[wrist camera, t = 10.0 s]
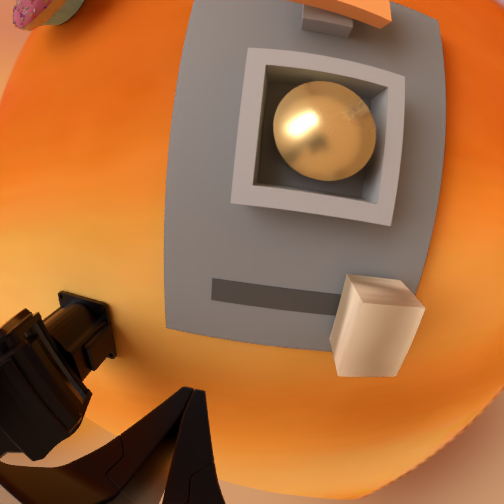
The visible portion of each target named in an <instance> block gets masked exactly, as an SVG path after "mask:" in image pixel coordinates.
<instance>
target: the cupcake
mask: <svg viewBox="0 0 504 504" xmlns="http://www.w3.org/2000/svg"><path fill="white" fill-rule="evenodd" d="M83 2H84V0H17V2H16V5H15V6H14V10H13V24H15V27H16V26H17V27H18V28H19V29H21V30H28V31H31V30H33V29H35V28H37V27H38V26H42V25H60V24H62V23H64V22H66V21H67V20H69V19H70V18H71V17H72V16H73V15H74V14H75V13H76V12H77V11H78V9H79V8H80V7H81V5H82V4H83Z"/></svg>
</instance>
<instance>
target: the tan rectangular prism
mask: <svg viewBox="0 0 504 504" xmlns="http://www.w3.org/2000/svg"><path fill="white" fill-rule="evenodd" d="M425 309H426V308H425V306H424V305H423V304H422V303H421V302H420V301H419V300H418V299H417V298H416V296H415V295H414V294H413V293H412V292H411V291H410V290H409V289H408V288H407V287H406V286H405V285H404V283H403V282H402V281H401V280H395V279H386V278H378V277H369V276H361V275H353V274H346V278H345V282H344V287H343V291H342V295H341V299H340V303H339V306H338V310H337V314H336V318H335V321H334V325H333V328H332V332H331V335H330V338H329V339H330V343H331V348H332V352H333V356H334V360H335V365H336V369H337V374H338V376H344V377H396V375H397V373H398V371H399V369H400V367H401V365H402V363H403V361H404V359H405V357H406V355H407V352H408V350H409V348H410V346H411V343H412V341H413V339H414V337H415V334H416V332H417V329H418V327H419V324H420V322H421V319H422V317H423V314H424V311H425Z"/></svg>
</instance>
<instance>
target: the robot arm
mask: <svg viewBox="0 0 504 504" xmlns="http://www.w3.org/2000/svg"><path fill="white" fill-rule="evenodd" d="M58 297H59V302H60V307H59V308H58V309H57V310H55V311H54V312H53V313H52V314H50V315H49V316H48V317H46V318H45V319H44V320H42V319H41V318H42V317H41V315H40V313H39V312H37V313H35V314H32V312H30V311H29V310H27V309H26V308H25V309H23V310H22V311H21V312H19V313H18V314H16V315H15V316H14V317H12V318H11V319H10V320H8V321H7V322H6V323H5V324H4V325H3V326H2V327H0V458H2V457H3V456H4V455H5V454H7V453H24V454H25V455H26V456H27V457H28V458H29V459H31V460H32V461H36V460H40V459H43V458H45V456H46V455H47V454H48V453H49V452H50V451H51V450H52V449H53V448H54V447H55V446H56V445H57V444H58V443H60V442H61V441H63V440H64V439H66V438H68V437H70V436H71V435H72V434H73V433H75V431H76V430H77V429H78V428H79V426H80V424H81V422H82V420H83V417H84V414H85V412H86V409H87V406H88V404H89V401H90V399H91V396H92V392H91V391H90V390H89V389H87V387H86V386H85V385H84V383H83V382H82V381H83V380H84V379H85V378H86V376H87V375H88V374H89V373H90V372H91V370H92V371H95V370H96V369H97V368H98V367H99V366H100V364H101V363H102V362H103V361H104V360H105V358H106V357H108V358H111V359H114V358H115V357H116V356H117V354H116V349H115V344H114V339H113V334H112V328H111V323H110V317H109V311H108V306H107V305H106V304H105V303H103V302H100V301H96V300H92V299H89V298H85V297H82V296H78V295H75V294H72V293H68V292H65V291H60V292H59V293H58ZM102 307H103V308H102ZM164 490H165V493H164ZM163 493H164V498H163V502H162V504H225V501H224V498H223V496H222V493H221V489H220V486H219V483H218V479H217V474H216V468H215V463H214V456H213V449H212V442H211V435H210V427H209V419H208V411H207V402H206V393H205V391H203V390H198V389H195V390H194V389H193V388H189V387H182V388H180V389H179V390H178V391H177V392H175V393H174V394H173V395H172V396H170V397H169V398H168V399H167V400H165V401H164V402H163V403H162V404H160V405H159V406H158V407H156V408H155V409H154V410H152V411H151V412H150V413H149V414H147V415H146V416H145V417H143V418H142V419H141V420H139V421H138V422H137V423H135V424H134V425H133V426H131V427H130V428H129V429H127V430H126V431H124V432H123V433H122V434H121V436H120V435H119V436H117V437H116V438H115V439H113V440H112V441H110V442H109V443H107V444H106V445H104V446H103V447H101V448H99V449H97V450H95V451H93V452H92V453H90V454H88V455H85V456H84V457H81V458H79V459H77V460H75V461H73V462H71V463H69V464H66V465H63V466H60V467H53V468H44V467H27V466H15V465H9V464H5V463H3V462H1V461H0V504H159V502H160V500H161V497H162V495H163Z"/></svg>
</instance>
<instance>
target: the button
mask: <svg viewBox="0 0 504 504" xmlns="http://www.w3.org/2000/svg"><path fill="white" fill-rule="evenodd" d="M273 131H274V138H275V143H276V147H277V150H278V152H279V154H280V156H281V158H282V159H283V160H284V162H285V163H286V164H287V165H288V166H289V167H290V168H291V169H293V170H294V171H296V172H297V173H299V174H301V175H303V176H306V177H309V178H313V179H317V180H323V181H336V180H341V179H344V178H347V177H350V176H352V175H354V174H355V173H357V172H358V171H359V170H361V169H362V168H363V167H364V166H365V165H366V163H367V162H368V161H369V159H370V157H371V155H372V153H373V151H374V147H375V142H376V127H375V123H374V119H373V117H372V114H371V112H370V110H369V108H368V107H367V105H366V104H365V103H364V101H363V100H362V99H361V98H360V97H359V96H358V95H357V94H355V93H354V92H353V91H351V90H350V89H348V88H346V87H344V86H342V85H339V84H337V83H333V82H327V81H314V82H308V83H305V84H302V85H300V86H298V87H296V88H294V89H293V90H291V91H290V92H289V93H288V94H287V95H286V96H285V97H284V98H283V99H282V101H281V102H280V103H279V105H278V107H277V110H276V113H275V116H274V122H273Z"/></svg>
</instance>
